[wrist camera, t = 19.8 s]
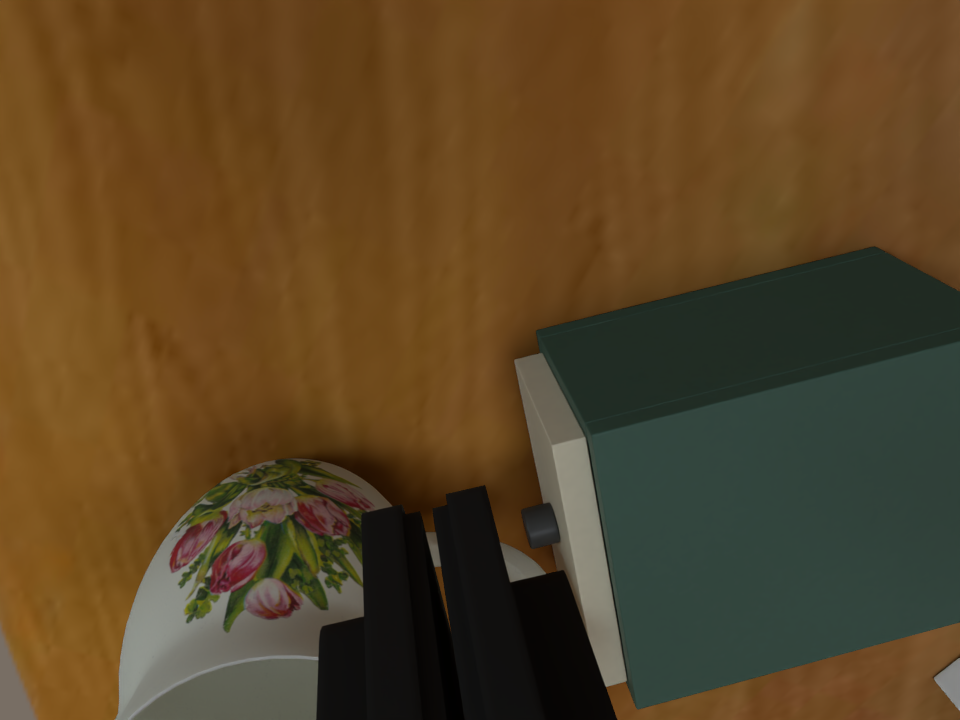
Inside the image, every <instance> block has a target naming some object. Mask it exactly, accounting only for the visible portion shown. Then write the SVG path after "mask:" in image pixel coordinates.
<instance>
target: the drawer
mask: <svg viewBox="0 0 960 720" xmlns="http://www.w3.org/2000/svg"><path fill="white" fill-rule="evenodd" d="M514 362H515V367H516V372H517V377H518V382H519V387H520V392H521V397H522V401H523V406H524V411H525V416H526V421H527V426H528V431H529V436H530V441H531V445H532V450H533V455H534V460H535V465H536V470H537V475H538V480H539V485H540V489H541V494H542V499H543V504H540V505H536V506H532V507H528V508H525V509H522V510H521V514H522V519H523V523H524V527H525V531H526V535H527V539H528V542H529V545H530V547H531V549H536V548H539V547H543V546H547V545H551V544H552V548H553V553H554V558H555V563H556V568H557V571H561V570H564V571H565V573H566V575H567V578H568V581H569V583H570V586H571V589H572V592H573V595H574V598H575V600H576V603H577V606H578V609H579V612H580V615H581V618H582V620H583V623H584V626H585V629H586V632H587V635H588V638H589V641H590V643H591V646H592V649H593V652H594V655H595V658H596V661H597V663H598V666H599V669H600V672H601V675H602V678H603V681H604V683H605V686H606V687H607V686H611V685H615V684H618V683H622V682H626V681H627V675H626V669H625V663H624V657H623V651H622V645H621V639H620V633H619V627H618V621H617V616H616V610H615V604H614V598H613V592H612V586H611V580H610V574H609V568H608V562H607V557H606V551H605V545H604V539H603V533H602V527H601V521H600V515H599V509H598V503H597V498H596V492H595V486H594V480H593V474H592V468H591V462H590V456H589V450H588V444H587V439H586V436H585V434H584V432H583V430H582V428H581V426H580V424H579V422H578V420H577V419H576V417H575V415H574V413H573V411H572V409H571V407H570V405H569V403H568V401H567V399H566V397H565V395H564V393H563V391H562V389H561V387H560V386H559V384H558V382H557V380H556V378H555V376H554V374H553V372H552V370H551V368H550V366H549V364H548V362H547V360H546V358H545V356H544V355H543V353H539V354H535V355H531V356H527V357H523V358H519V359H515V360H514Z"/></svg>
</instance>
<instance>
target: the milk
mask: <svg viewBox="0 0 960 720" xmlns="http://www.w3.org/2000/svg"><path fill="white" fill-rule="evenodd" d="M934 680H935V681H936V683H937V684H938V685H939V686H940V688H941V689H942V690H943V691H944V692H945V694H946V695H947V696H948V697H949V699H950V700H951V701H952V702H953V703H954V705H955V706H956V707H957V708H958V709H959V711H960V658H958V659H957V660H956V661H954V662H953V663H952V664H951V665H949V666H948V667H947V668H945V669H944V670H943V671H942V672H940V673H939V674H938V675H936V676H935V677H934Z"/></svg>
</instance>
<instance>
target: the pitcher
mask: <svg viewBox="0 0 960 720" xmlns="http://www.w3.org/2000/svg"><path fill="white" fill-rule="evenodd" d="M391 506H392V505H391V504H390V503H389V502H388V501H387V500H386V499H385V498H384V497H383V496H382V495H381V494H380V493H379V492H378V491H377V490H376V489H375V488H374V487H373V486H372V485H370V484H369V483H367V482H366V481H365V480H363V479H362V478H360V477H359V476H357V475H355V474H353V473H352V472H350V471H348V470H346V469H344V468H341V467H339V466H336V465H334V464H330V463H327V462H323V461H318V460H311V459H298V458H291V459H278V460H273V461H268V462H264V463H260V464H257V465H254V466H251V467H249V468H247V469H244V470H242V471H240V472H238V473H235V474H233V475H232V476H230V477H228V478H227V479H225V480H223V481H221V482H220V483H219V484H218V485H216V486H215V487H214V488H212V489H211V490H210V491H209V492H207V493H206V494H205V495H203V496H202V497H201V498H200V499H199V500H198V501H197V502H196V503H195V504H194V505H193V506H192V507H191V508H190V509H189V510H188V511H187V512H186V513H185V514H184V515H183V516H182V517H181V518H180V520H179V521H178V522H177V524H176V525H175V526H174V527H173V529H172V530H171V531H170V533H169V534H168V536H167V537H166V538H165V540H164V541H163V542H162V544H161V546H160V547H159V549H158V551H157V552H156V554H155V556H154V558H153V559H152V561H151V563H150V565H149V567H148V569H147V571H146V573H145V575H144V577H143V580H142V582H141V584H140V586H139V589H138V591H137V594H136V597H135V600H134V603H133V606H132V609H131V612H130V616H129V619H128V622H127V625H126V630H125V634H124V639H123V645H122V652H121V659H120V668H119V710H118V715H117V717H116V719H115V720H316V712H317V684H318V655H319V636H320V630H321V628H322V626H325V625H329V624H333V623H338V622H342V621H346V620H351V619H355V618H359V617H363V616H364V601H363V567H362V533H361V515H362V513H365V512H369V511H374V510H378V509H383V508H387V507H391ZM426 536H427V540H428V544H429V548H430V552H431V556H432V560H433V563H434V567H441V563H440V556H439V550H438V543H437V537H436V532H426ZM500 545H501V549H502V553H503V557H504V560H505V564H506V568H507V572H508V576H509V580H510V582H514V581H518V580H522V579H526V578H531V577H535V576H539V575H544V574H546V573H545V572H544V570H543V569H542V568H541V567H540V566H539V565H538V564H537V563H536V562H535V561H534V560H532V559H531V558H530V557H528V556H527V555H525V554H524V553H523V552H521V551H519V550H517V549H515V548H513V547H511V546H509V545H507V544H504V543H501V542H500Z"/></svg>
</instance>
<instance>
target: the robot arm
mask: <svg viewBox="0 0 960 720" xmlns="http://www.w3.org/2000/svg"><path fill="white" fill-rule="evenodd" d="M446 499H447V504H448V505H445V506H441V507H436V508H432V510H433V517H434V524H435V530H436V537H437V543H438V550H439V556H440V563H441V569H442V576H443V582H444V588H445V595H446V601H447V608H448V614H449V621H450V627H451V631H450V627H449V623H448V619H447V615H446V611H445V607H444V603H443V599H442V595H441V591H440V587H439V583H438V579H437V575H436V571H435V567H434V563H433V560H432V556H431V552H430V548H429V544H428V540H427V536H426V532H425V528H424V524H423V520H422V516H421V513H420V511H419V512H414V513H410V514H405V511H404V508H403V505H402V504H400V505H396V506H391V507H387V508H383V509H378V510H374V511H369V512H365V513H362V515H361V533H362V567H363V601H364V616H363V617H359V618H355V619H351V620H346V621H342V622H338V623H333V624H329V625H325V626H322V628H321V630H320V636H319V655H318V684H317V712H316V720H617V718H616V715H615V712H614V709H613V706H612V704H611V701H610V698H609V695H608V692H607V689H606V686H605V683H604V681H603V678H602V675H601V672H600V669H599V666H598V663H597V661H596V658H595V655H594V652H593V649H592V646H591V643H590V641H589V638H588V635H587V632H586V629H585V626H584V623H583V620H582V618H581V615H580V612H579V609H578V606H577V603H576V600H575V598H574V595H573V592H572V589H571V586H570V583H569V581H568V578H567V575H566V573H565V571H564V570H561V571H556V572H552V573H548V574H544V575H539V576H535V577H531V578H526V579H522V580H518V581H514V582H510V580H509V576H508V572H507V568H506V564H505V560H504V557H503V553H502V549H501V545H500V541H499V537H498V533H497V529H496V525H495V522H494V518H493V514H492V510H491V506H490V502H489V498H488V494H487V491H486V487H485V485H484V486H479V487H475V488H471V489H466V490H462V491H457V492H453V493H449V494H446Z"/></svg>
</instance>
